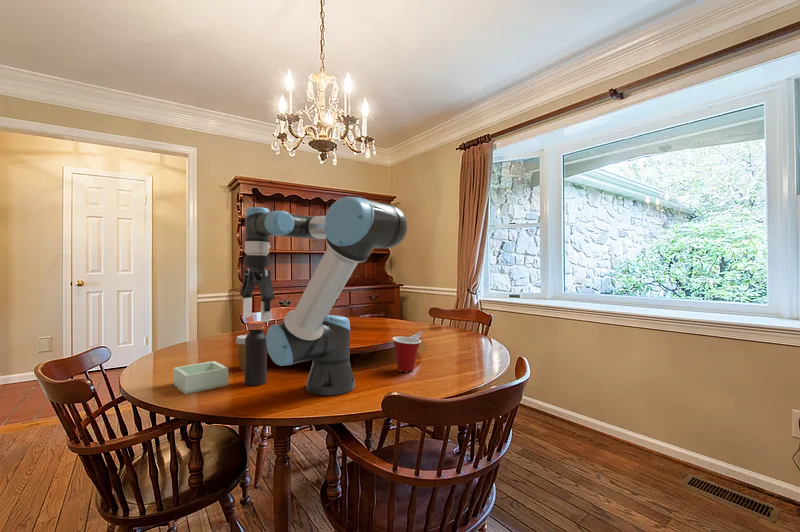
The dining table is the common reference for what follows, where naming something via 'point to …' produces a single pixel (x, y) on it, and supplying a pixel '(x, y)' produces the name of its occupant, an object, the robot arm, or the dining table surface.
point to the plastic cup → (406, 352)
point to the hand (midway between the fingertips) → (256, 319)
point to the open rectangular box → (200, 377)
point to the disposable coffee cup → (241, 350)
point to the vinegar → (255, 355)
